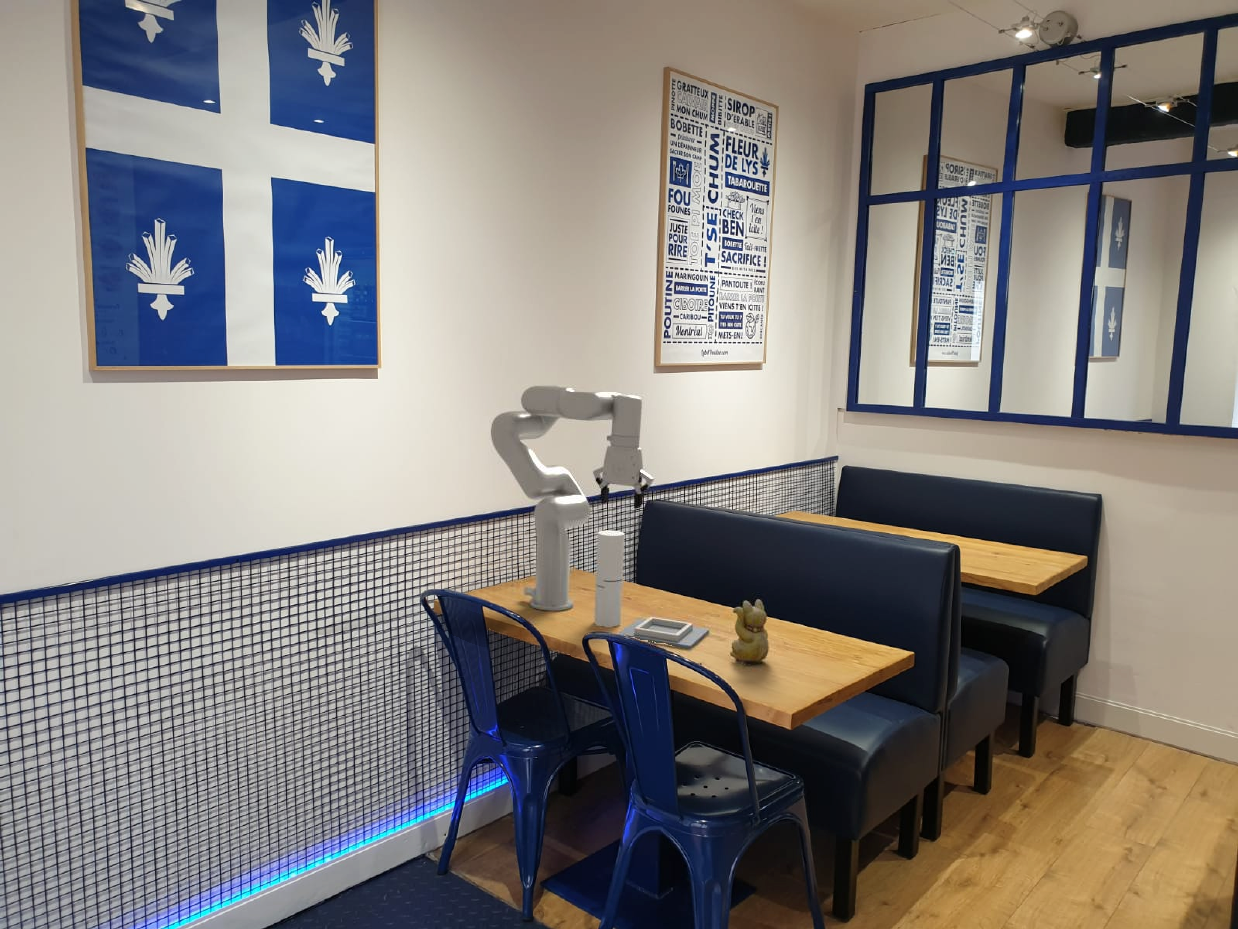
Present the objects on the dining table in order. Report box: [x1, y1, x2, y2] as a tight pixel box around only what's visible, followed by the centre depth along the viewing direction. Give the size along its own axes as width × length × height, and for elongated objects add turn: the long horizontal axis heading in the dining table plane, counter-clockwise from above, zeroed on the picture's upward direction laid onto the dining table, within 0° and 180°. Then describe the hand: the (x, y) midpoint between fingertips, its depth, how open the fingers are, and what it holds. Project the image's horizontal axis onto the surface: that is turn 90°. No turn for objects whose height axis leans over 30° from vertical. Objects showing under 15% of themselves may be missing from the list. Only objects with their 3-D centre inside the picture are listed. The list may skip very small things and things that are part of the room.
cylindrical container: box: [593, 529, 625, 628], centre depth 254 cm, size 7×7×25 cm
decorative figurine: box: [729, 599, 770, 666], centre depth 228 cm, size 10×8×15 cm
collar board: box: [618, 616, 710, 651], centre depth 247 cm, size 20×16×2 cm
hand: (621, 505), depth 251 cm, fingers open, 9 cm apart
